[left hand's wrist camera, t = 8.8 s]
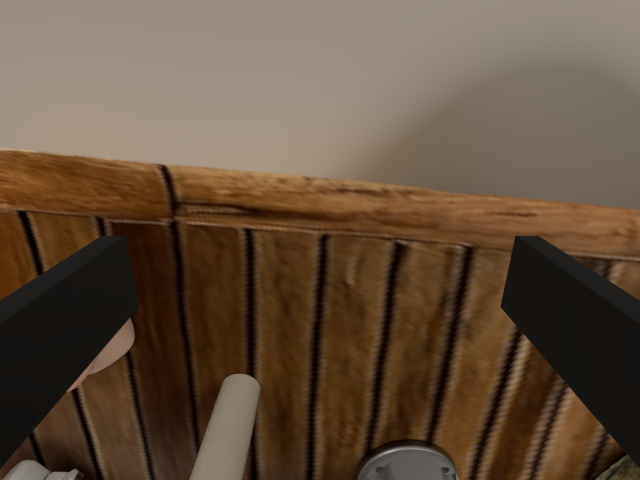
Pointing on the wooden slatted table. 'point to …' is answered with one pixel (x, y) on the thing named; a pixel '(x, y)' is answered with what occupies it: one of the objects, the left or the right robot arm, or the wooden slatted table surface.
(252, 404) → the jar
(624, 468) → the fossil
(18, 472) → the right robot arm
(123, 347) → the anatomical model
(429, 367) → the wooden slatted table surface
